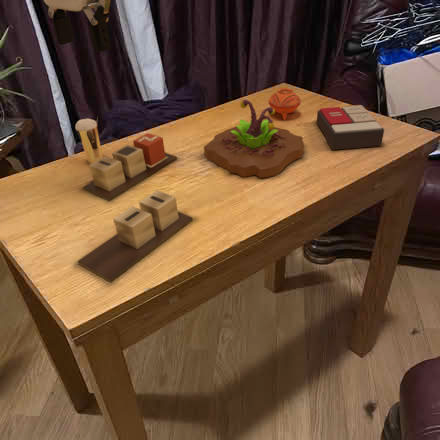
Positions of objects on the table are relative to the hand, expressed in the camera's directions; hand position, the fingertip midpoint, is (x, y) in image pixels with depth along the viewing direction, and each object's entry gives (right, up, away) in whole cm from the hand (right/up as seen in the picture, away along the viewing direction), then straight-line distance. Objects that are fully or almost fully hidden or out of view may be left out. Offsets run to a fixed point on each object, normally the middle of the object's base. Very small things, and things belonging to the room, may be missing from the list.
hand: (84, 46), depth 75 cm
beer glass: (-4, -13, +21) cm, 26 cm away
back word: (+5, -18, +16) cm, 25 cm away
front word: (+10, -34, -1) cm, 35 cm away
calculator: (+53, -6, +24) cm, 59 cm away
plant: (+31, -12, +20) cm, 39 cm away
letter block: (+9, -14, +19) cm, 25 cm away
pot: (+40, +2, +34) cm, 52 cm away
